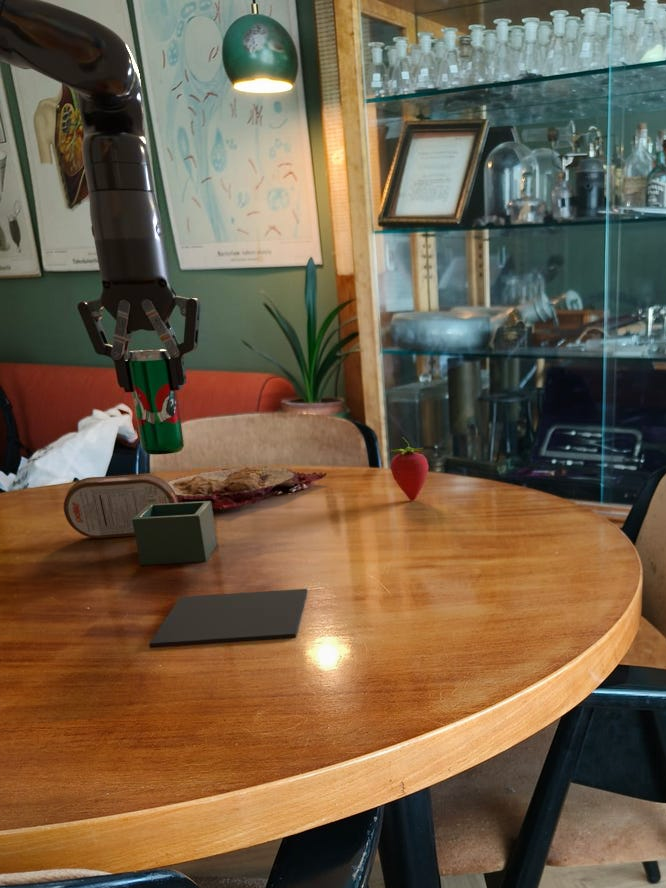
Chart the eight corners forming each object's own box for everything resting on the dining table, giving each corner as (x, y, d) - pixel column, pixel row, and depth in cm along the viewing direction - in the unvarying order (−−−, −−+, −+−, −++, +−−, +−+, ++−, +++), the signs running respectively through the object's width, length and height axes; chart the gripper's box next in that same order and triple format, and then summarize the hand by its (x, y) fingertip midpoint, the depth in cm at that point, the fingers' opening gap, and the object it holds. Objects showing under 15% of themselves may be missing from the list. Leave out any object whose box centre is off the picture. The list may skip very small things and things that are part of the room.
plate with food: (329, 483, 155) (327, 464, 154) (230, 513, 134) (227, 491, 133) (225, 477, 166) (223, 459, 164) (117, 504, 144) (114, 483, 143)
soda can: (187, 447, 112) (172, 348, 108) (182, 453, 108) (166, 351, 103) (146, 449, 112) (129, 350, 107) (139, 456, 107) (121, 352, 103)
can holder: (140, 565, 111) (131, 519, 109) (155, 547, 119) (148, 504, 117) (206, 561, 112) (199, 515, 110) (217, 544, 120) (211, 500, 117)
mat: (149, 647, 85) (148, 643, 85) (180, 600, 98) (179, 596, 98) (295, 637, 86) (295, 633, 86) (307, 591, 99) (307, 588, 99)
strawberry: (396, 507, 136) (391, 442, 132) (390, 497, 143) (385, 434, 139) (434, 504, 137) (430, 439, 134) (426, 494, 144) (422, 432, 140)
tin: (182, 528, 129) (173, 470, 125) (180, 533, 126) (170, 474, 123) (73, 537, 126) (60, 478, 123) (68, 543, 123) (55, 483, 120)
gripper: (199, 237, 105) (219, 385, 111) (74, 240, 104) (102, 390, 110) (186, 233, 98) (208, 391, 104) (52, 237, 97) (83, 396, 103)
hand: (153, 390), depth 107 cm, fingers closed on soda can, 5 cm apart
